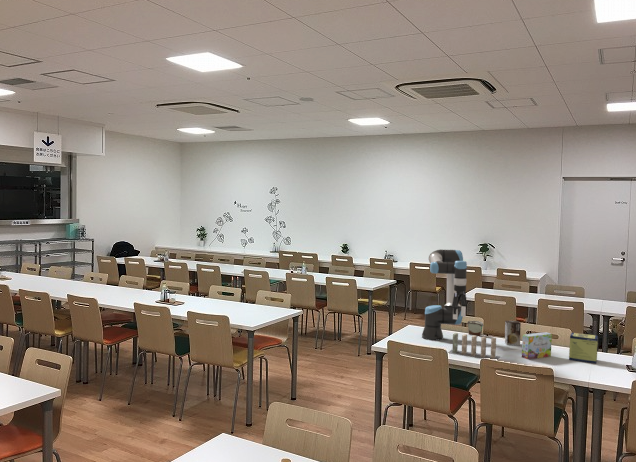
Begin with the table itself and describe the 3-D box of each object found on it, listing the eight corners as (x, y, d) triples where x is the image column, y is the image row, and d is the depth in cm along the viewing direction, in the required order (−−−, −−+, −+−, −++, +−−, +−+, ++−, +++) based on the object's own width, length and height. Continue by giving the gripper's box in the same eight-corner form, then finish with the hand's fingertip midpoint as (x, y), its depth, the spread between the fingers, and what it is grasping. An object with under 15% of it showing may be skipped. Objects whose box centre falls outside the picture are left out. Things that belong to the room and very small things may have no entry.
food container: (486, 335, 393) (486, 322, 392) (482, 337, 388) (482, 323, 388) (470, 333, 401) (471, 320, 401) (466, 334, 397) (467, 321, 396)
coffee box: (517, 343, 371) (518, 320, 370) (520, 345, 364) (521, 322, 364) (504, 343, 372) (505, 320, 371) (506, 345, 365) (507, 322, 365)
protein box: (596, 363, 323) (597, 338, 322) (568, 360, 330) (569, 335, 330) (597, 359, 332) (598, 335, 331) (569, 356, 339) (570, 332, 339)
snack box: (528, 360, 328) (529, 336, 327) (521, 358, 333) (521, 334, 332) (551, 356, 338) (552, 333, 337) (544, 354, 342) (545, 331, 342)
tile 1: (490, 358, 328) (491, 339, 328) (492, 356, 332) (492, 337, 332) (493, 358, 327) (494, 339, 327) (495, 357, 332) (496, 338, 331)
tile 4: (461, 354, 337) (462, 335, 337) (463, 352, 341) (464, 334, 341) (464, 354, 336) (465, 335, 336) (466, 352, 340) (467, 334, 340)
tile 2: (480, 356, 331) (481, 338, 331) (482, 355, 335) (483, 336, 335) (484, 357, 330) (484, 338, 330) (485, 355, 334) (486, 336, 334)
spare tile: (452, 352, 340) (452, 334, 340) (454, 351, 344) (454, 332, 344) (455, 353, 339) (455, 334, 339) (457, 351, 343) (458, 333, 343)
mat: (447, 353, 339) (447, 353, 339) (451, 350, 348) (451, 349, 348) (497, 361, 323) (497, 360, 323) (500, 357, 333) (500, 356, 333)
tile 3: (471, 355, 334) (471, 336, 334) (472, 353, 338) (473, 335, 338) (474, 356, 333) (474, 337, 333) (476, 354, 337) (476, 335, 337)
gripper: (458, 287, 327) (457, 321, 327) (472, 283, 347) (472, 315, 347) (446, 286, 331) (445, 319, 332) (462, 282, 351) (461, 314, 352)
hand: (459, 317), depth 340 cm, fingers open, 13 cm apart
